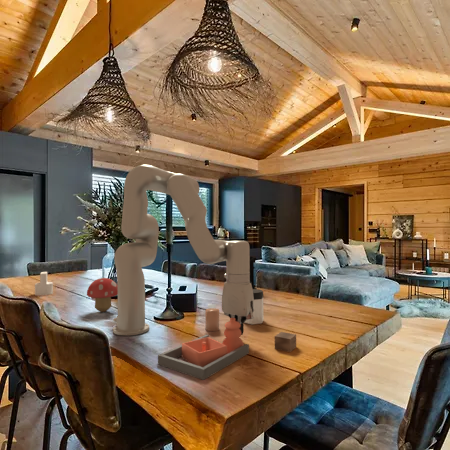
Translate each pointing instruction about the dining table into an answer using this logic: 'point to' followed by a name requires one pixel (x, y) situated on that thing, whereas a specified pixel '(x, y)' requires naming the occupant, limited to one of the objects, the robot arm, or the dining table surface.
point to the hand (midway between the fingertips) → (238, 335)
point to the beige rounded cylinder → (212, 319)
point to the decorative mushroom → (102, 293)
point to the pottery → (213, 346)
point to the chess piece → (252, 271)
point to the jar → (257, 308)
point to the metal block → (285, 341)
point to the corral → (196, 371)
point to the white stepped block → (43, 285)
